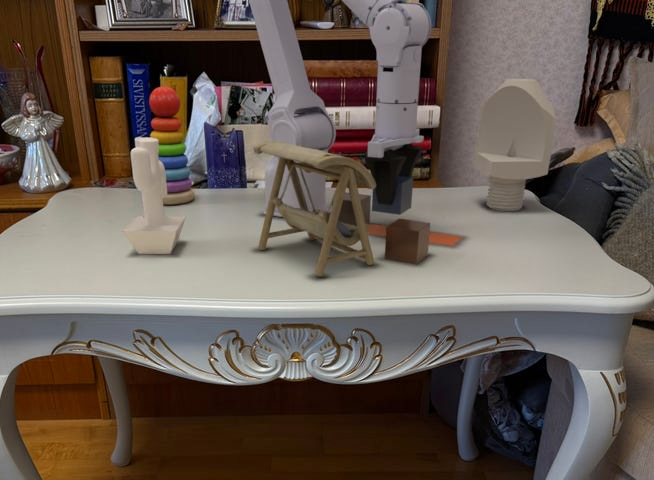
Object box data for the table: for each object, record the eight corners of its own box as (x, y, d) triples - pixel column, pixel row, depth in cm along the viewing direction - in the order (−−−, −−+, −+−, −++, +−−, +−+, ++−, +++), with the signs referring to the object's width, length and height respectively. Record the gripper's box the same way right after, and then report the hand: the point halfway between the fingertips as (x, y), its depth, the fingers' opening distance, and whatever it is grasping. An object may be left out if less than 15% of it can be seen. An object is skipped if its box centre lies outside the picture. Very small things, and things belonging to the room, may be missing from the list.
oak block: (331, 227, 102) (331, 198, 100) (343, 220, 106) (344, 192, 104) (357, 231, 100) (358, 201, 98) (369, 224, 104) (371, 195, 102)
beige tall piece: (469, 200, 117) (483, 77, 108) (521, 199, 117) (539, 77, 108) (485, 214, 109) (501, 82, 100) (541, 213, 109) (562, 82, 100)
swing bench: (376, 265, 87) (382, 148, 80) (316, 280, 82) (317, 157, 75) (312, 238, 98) (312, 133, 91) (256, 249, 93) (251, 139, 86)
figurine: (189, 239, 97) (180, 132, 90) (177, 260, 89) (166, 143, 82) (140, 239, 97) (127, 132, 91) (123, 259, 89) (107, 143, 82)
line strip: (320, 226, 103) (320, 226, 103) (334, 219, 107) (334, 218, 107) (452, 246, 94) (452, 245, 94) (462, 237, 98) (462, 236, 98)
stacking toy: (190, 206, 114) (181, 89, 106) (144, 206, 114) (131, 89, 106) (198, 195, 121) (189, 84, 113) (154, 195, 122) (142, 84, 113)
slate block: (371, 211, 98) (372, 180, 96) (383, 204, 101) (384, 174, 99) (400, 214, 96) (402, 183, 94) (411, 207, 99) (413, 177, 97)
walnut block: (384, 259, 89) (386, 226, 87) (396, 250, 92) (398, 218, 90) (416, 264, 87) (418, 231, 85) (427, 255, 90) (430, 222, 88)
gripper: (405, 109, 84) (398, 214, 91) (441, 98, 96) (433, 192, 102) (354, 106, 87) (351, 208, 94) (395, 95, 99) (390, 187, 105)
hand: (391, 200), depth 98 cm, fingers closed on slate block, 4 cm apart
